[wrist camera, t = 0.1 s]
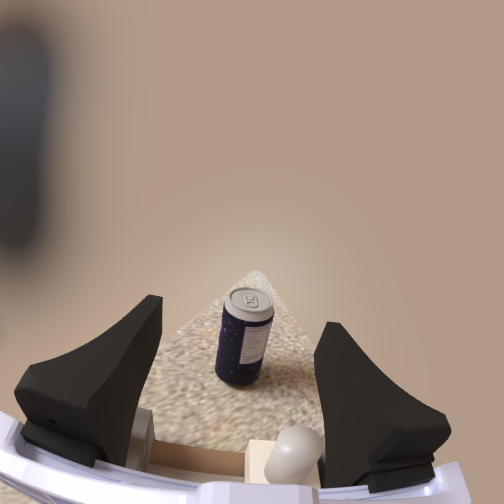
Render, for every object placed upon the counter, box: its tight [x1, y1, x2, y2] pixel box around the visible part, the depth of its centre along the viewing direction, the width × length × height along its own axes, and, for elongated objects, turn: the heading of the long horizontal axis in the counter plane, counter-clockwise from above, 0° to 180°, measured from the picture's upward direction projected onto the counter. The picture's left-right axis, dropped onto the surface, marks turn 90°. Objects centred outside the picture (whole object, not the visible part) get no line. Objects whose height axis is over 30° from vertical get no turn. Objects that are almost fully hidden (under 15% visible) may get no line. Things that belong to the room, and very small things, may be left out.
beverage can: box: [215, 287, 274, 387], centre depth 37 cm, size 6×6×12 cm
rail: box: [125, 407, 325, 489], centre depth 22 cm, size 9×26×6 cm, turn 90°
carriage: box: [245, 426, 324, 489], centre depth 22 cm, size 7×6×8 cm
